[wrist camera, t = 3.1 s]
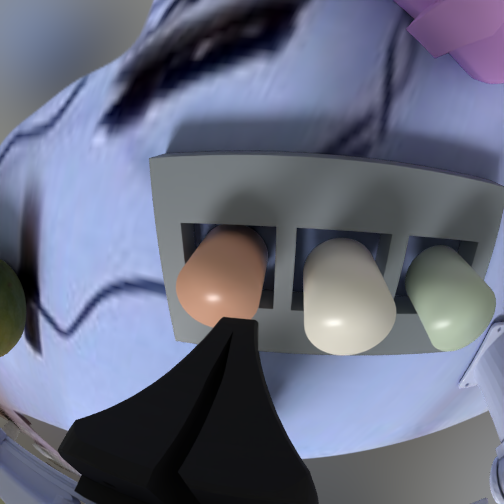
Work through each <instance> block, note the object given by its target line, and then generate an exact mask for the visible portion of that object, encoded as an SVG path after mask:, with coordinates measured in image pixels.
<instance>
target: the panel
mask: <svg viewBox="0 0 504 504" xmlns="http://www.w3.org/2000/svg"><path fill="white" fill-rule="evenodd" d="M149 164H150V176H151V187H152V197H153V207H154V215H155V224H156V231H157V239H158V246H159V253H160V259H161V266H162V272H163V278H164V284H165V289H166V295H167V300H168V306H169V311H170V316H171V321H172V325H173V330H174V335H175V339H176V341H181V342H187V343H194V344H199V343H200V342H201V341H202V340H203V339H204V338H205V336H206V335H207V334H208V333H209V332H210V331H211V330H212V328H213V327H209V326H207V325H204V324H202V323H200V322H198V321H197V320H195V319H194V318H192V317H191V316H190V315H189V314H188V313H187V312H186V311H185V310H184V308H183V307H182V305H181V304H180V302H179V299H178V297H177V293H176V281H177V277H178V275H179V273H180V271H181V270H182V268H183V267H184V265H185V264H186V263H187V261H188V260H189V258H190V257H191V256H192V254H193V253H194V252H195V250H196V246H195V235H194V223H202V224H230V225H254V226H275V227H276V256H275V282H274V290H262V293H261V298H260V302H259V307H258V310H257V312H256V314H255V315H254V316H253V318H252V320H256V321H257V322H258V323H259V330H258V351H265V352H278V353H294V354H314V355H334V354H330V353H326V352H324V351H322V350H320V349H318V348H317V347H316V346H314V345H313V344H312V343H311V342H310V340H309V339H308V337H307V335H306V332H305V328H304V292H292V289H293V277H294V263H295V248H296V232H297V228H311V229H328V230H343V231H358V232H372V233H380V238H379V243H378V249H377V254H376V260H375V262H376V264H377V266H378V268H379V270H380V272H381V274H382V276H383V278H384V281H385V283H386V285H387V287H388V289H389V291H390V293H391V295H392V298H393V300H394V302H395V306H396V319H395V323H394V325H393V327H392V329H391V331H390V332H389V334H388V335H387V336H386V337H385V338H384V339H383V340H382V341H381V342H380V343H379V344H377V345H376V346H374V347H373V348H371V349H369V350H367V351H364V352H361V353H358V354H353V355H401V354H420V353H435V352H447V351H441V350H438V349H437V348H435V347H434V346H433V344H432V343H431V340H430V338H429V336H428V334H427V332H426V330H425V328H424V326H423V324H422V322H421V320H420V318H419V316H418V314H417V312H416V310H415V308H414V306H413V304H412V302H411V300H410V298H409V296H395V293H396V290H397V286H398V282H399V278H400V274H401V270H402V266H403V262H404V258H405V253H406V249H407V244H408V239H409V235H410V236H421V237H433V238H443V239H454V240H461V242H460V246H459V249H458V254H459V255H460V256H461V257H462V258H463V259H464V260H465V261H466V262H467V263H468V264H469V265H470V266H471V267H472V268H473V269H474V271H475V272H476V273H477V274H478V275H479V276H480V277H481V278H482V279H483V280H484V278H485V275H486V272H487V269H488V266H489V263H490V259H491V256H492V253H493V249H494V246H495V242H496V238H497V235H498V231H499V227H500V222H501V218H502V213H503V209H504V186H502V185H500V184H498V183H495V182H493V181H491V180H488V179H484V178H480V177H475V176H471V175H467V174H462V173H457V172H453V171H448V170H443V169H437V168H432V167H426V166H420V165H414V164H408V163H401V162H395V161H387V160H380V159H371V158H363V157H353V156H342V155H331V154H317V153H300V152H276V151H207V152H182V153H166V154H162V155H158V156H155V157H152V158H149Z"/></svg>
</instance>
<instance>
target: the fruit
mask: <svg viewBox="0 0 504 504" xmlns="http://www.w3.org/2000/svg"><path fill="white" fill-rule="evenodd" d="M25 320H26V300H25V295H24V291H23V287H22V285H21V283H20V280H19V278H18V276H17V275H16V273H15V272H14V270H13V269H12V268H11V267H10V266H9V265H8V264H7V263H6V262H4V261H3V260H1V259H0V357H2V356H4V355H5V354H7V353H8V352H9V351H10V350H11V349H12V348H13V347H14V346H15V345H16V344H17V342H18V341H19V339H20V338H21V336H22V334H23V331H24V327H25Z"/></svg>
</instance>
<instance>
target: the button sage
mask: <svg viewBox="0 0 504 504" xmlns="http://www.w3.org/2000/svg"><path fill="white" fill-rule="evenodd" d="M405 289H406V292H407V294H408V296H409V298H410V300H411V302H412V304H413V306H414V308H415V310H416V312H417V314H418V316H419V318H420V320H421V322H422V324H423V326H424V328H425V330H426V332H427V334H428V336H429V338H430V340H431V343H432V344H433V346H434V347H435V348H437V349H438V350H441V351H455V350H458V349H461V348H463V347H465V346H467V345H469V344H470V343H472V342H473V341H475V340H476V339H477V338H478V337H479V336H480V335H481V334H482V333H483V332H484V331H485V329H486V328H487V326H488V325H489V323H490V321H491V320H492V317H493V315H494V312H495V307H496V298H495V295H494V292H493V291H492V289H491V288H490V287H489V286H488V285H487V284H486V283H485V282H484V280H483V279H482V278H481V277H480V276H479V275H478V274H477V273H476V272H475V271H474V269H473V268H472V267H471V266H470V265H469V264H468V263H467V262H466V261H465V260H464V259H463V258H462V257H461V256H460V255H459V254H458V253H457V252H456V251H455V250H454V249H453V248H451V247H449V246H446V245H436V246H432V247H429V248H427V249H425V250H424V251H422V252H421V253H420V254H419V255H418V256H417V257H416V258H415V259H414V260H413V261H412V263H411V264H410V266H409V268H408V270H407V273H406V277H405Z"/></svg>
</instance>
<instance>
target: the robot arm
mask: <svg viewBox="0 0 504 504" xmlns="http://www.w3.org/2000/svg"><path fill="white" fill-rule="evenodd" d="M258 330H259V323H258V322H257V321H256V320H252V319H241V318H230V317H222V318H221V319H220V320H219V321H218V323H217V324H216V325H215V326H214V327H213V328H212V330H211V331H210V332H209V333H208V334H207V335H206V336H205V338H204V339H203V340H202V341H201V342H200V343H199V344H198V345H197V346H196V347H195V348H194V349H193V350H192V351H191V352H190V353H189V354H188V355H187V356H186V357H185V358H184V359H183V360H181V361H180V362H179V363H178V364H177V365H176V366H175V367H174V368H172V369H171V370H170V371H169V372H168V373H166V374H165V375H164V376H162V377H161V378H160V379H158V380H157V381H156V382H154V383H153V384H151V385H150V386H148V387H147V388H145V389H144V390H142V391H140V392H139V393H137V394H136V395H134V396H132V397H130V398H128V399H127V400H125V401H123V402H121V403H119V404H117V405H115V406H112V407H110V408H108V409H106V410H103V411H101V412H98V413H96V414H93V415H90V416H87V417H84V418H81V419H78V420H75V422H74V423H73V425H72V426H71V428H70V429H69V431H68V433H67V434H66V436H65V438H64V440H63V441H62V443H61V445H60V447H59V449H58V452H59V454H60V456H61V457H62V458H63V459H64V460H65V461H66V462H68V463H69V464H70V465H71V466H72V467H73V468H74V469H76V470H77V471H78V472H79V473H80V474H82V476H81V478H80V480H79V482H76V481H74V480H73V479H71V478H69V477H67V476H66V475H64V474H62V473H60V472H59V471H57V470H56V469H54V468H52V467H51V466H49V465H48V464H46V463H44V462H43V461H41V460H40V459H38V458H37V457H35V456H34V455H33V454H31V453H30V452H28V451H27V450H26V449H24V448H23V447H21V446H20V445H19V444H17V443H16V442H15V441H14V440H12V439H11V438H10V437H9V436H7V435H6V433H5V432H4V431H3V430H2V429H1V428H0V498H1V499H2V500H3V501H4V502H5V503H6V504H81V503H80V501H82V502H84V503H86V504H318V496H317V492H316V489H315V486H314V483H313V480H312V477H311V474H310V471H309V470H308V468H307V467H306V465H305V464H304V462H303V461H302V459H301V458H300V456H299V454H298V453H297V451H296V449H295V448H294V446H293V444H292V442H291V441H290V439H289V437H288V435H287V433H286V431H285V429H284V427H283V425H282V423H281V421H280V419H279V417H278V415H277V412H276V410H275V407H274V405H273V402H272V400H271V397H270V394H269V391H268V388H267V385H266V382H265V378H264V375H263V371H262V367H261V362H260V357H259V351H258ZM477 385H478V386H479V388H480V390H481V393H482V395H483V397H484V400H485V402H486V404H487V407H488V409H489V412H490V414H491V417H492V419H493V422H494V424H495V427H496V430H497V433H498V436H499V438H500V442H501V444H500V445H499V446H498V447H497V448H496V452H497V457H496V458H495V459H494V461H493V464H492V468H491V472H490V488H491V493H492V496H493V497H494V500H495V501H496V503H497V504H504V322H498V323H494V324H493V325H492V326H491V328H490V330H489V332H488V334H487V336H486V338H485V340H484V342H483V343H482V345H481V347H480V349H479V351H478V353H477V354H476V356H475V358H474V360H473V361H472V363H471V365H470V366H469V368H468V370H467V371H466V373H465V375H464V376H463V378H462V379H461V381H460V382H459V384H458V386H459V388H467V387H472V386H477ZM79 500H80V501H79ZM472 504H488V500H487V498H483V499H481V500H479V501H476V502H474V503H472Z"/></svg>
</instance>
